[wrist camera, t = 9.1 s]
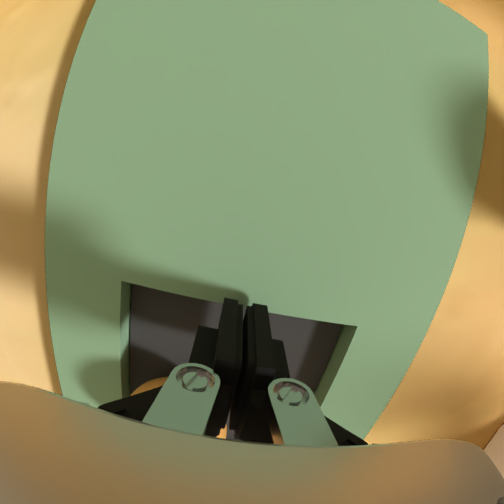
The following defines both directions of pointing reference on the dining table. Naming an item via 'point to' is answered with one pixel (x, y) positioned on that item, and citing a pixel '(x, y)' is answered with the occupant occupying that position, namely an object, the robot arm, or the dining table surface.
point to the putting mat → (261, 187)
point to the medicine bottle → (497, 449)
